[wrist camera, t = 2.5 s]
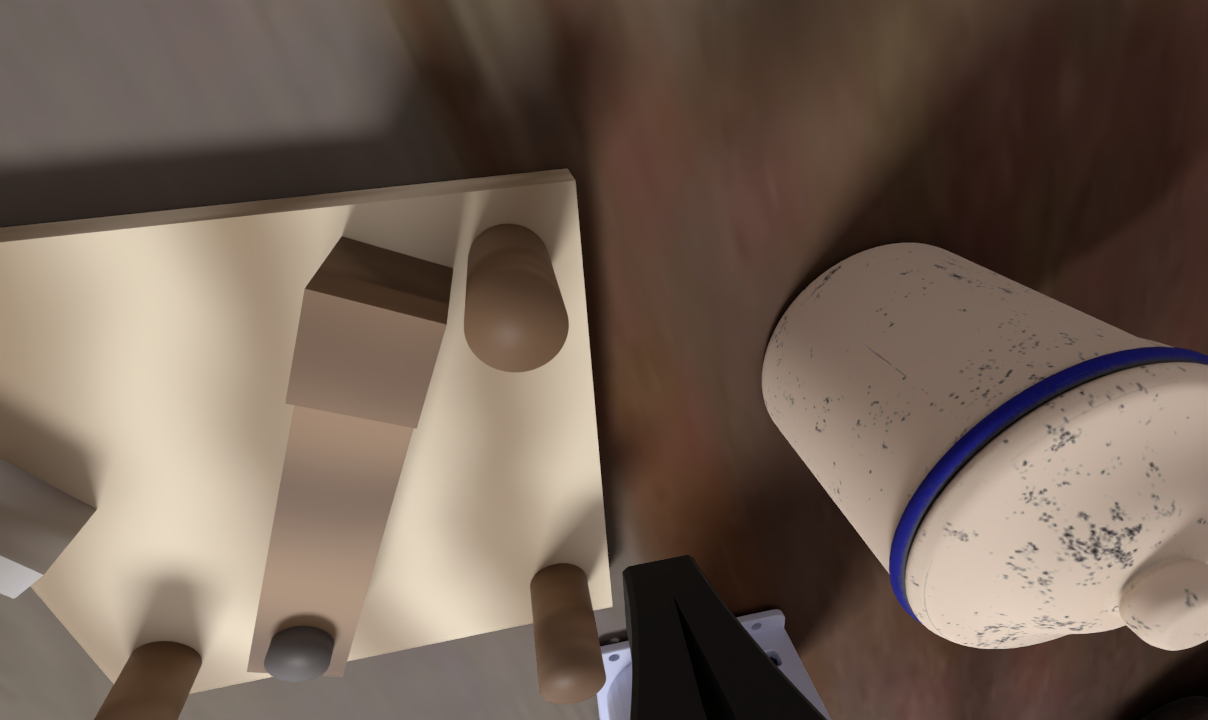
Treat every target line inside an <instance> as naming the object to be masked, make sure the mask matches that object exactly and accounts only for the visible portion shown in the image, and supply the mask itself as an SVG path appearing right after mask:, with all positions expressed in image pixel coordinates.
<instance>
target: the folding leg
mask: <svg viewBox="0 0 1208 720" xmlns="http://www.w3.org/2000/svg"><path fill="white" fill-rule="evenodd" d="M452 277H453V268H451V267H447V266H444V265H440V264H437V263H433V262H430V261H426V260H423V259H419V258H416V257H412V256H409V255H405V254H402V253H398V252H395V251H392V250H388V249H385V248H381V247H378V246H374V245H371V244H367V243H364V242H360V241H357V240H353V239H350V238H346V237H343V236H341V238H340V239H339V241H338V242H337V243H336V245H335V246H334V248H333V249H332V250H331V252H330V253H329V255H328V256H327V258H326V259H325V260H324V262H323V263H322V265H321V266H320V268H319V269H318V270H317V272H316V273H315V275H314V276H313V277H312V279H311V280H310V282H309V283H308V285H307V286H306V287H305V290H304V295H303V301H302V307H301V313H300V319H299V325H298V331H297V337H296V343H295V348H294V354H293V360H292V366H291V372H290V378H289V384H288V390H287V396H286V401H285V404H290V405H294V408H293V414H292V420H291V425H290V431H289V437H288V442H287V448H286V453H285V459H284V465H283V470H282V476H281V482H280V487H279V493H278V498H277V504H276V510H275V515H274V521H273V527H272V532H271V538H270V544H269V549H268V555H267V560H266V566H265V572H264V577H263V583H262V589H261V594H260V600H259V605H258V611H257V617H256V622H255V628H254V634H253V639H252V645H251V650H250V656H249V662H248V667H247V672H254V673H269V674H270V675H271V676H273V677H274V678H277V679H279V680H283V681H288V682H304V681H309V680H312V679H315V678H317V677H319V676H335V677H343V674H344V670H345V667H346V663H347V660H348V656H349V653H350V649H351V646H352V642H353V639H354V635H355V632H356V628H357V625H358V621H359V618H360V614H361V611H362V607H363V604H364V600H365V597H366V593H367V590H368V586H369V583H370V579H371V576H372V572H373V569H374V565H375V562H376V558H377V555H378V551H379V548H380V544H381V541H382V537H383V534H384V530H385V527H386V523H387V520H388V516H389V513H390V509H391V506H392V502H393V499H394V495H395V492H396V488H397V485H398V481H399V478H400V474H401V471H402V467H403V464H404V460H405V457H406V453H407V450H408V446H409V443H410V439H411V436H412V432H413V429H414V428H416V429H417V426H418V422H419V419H420V416H421V412H422V409H423V405H424V402H425V398H426V395H427V391H428V388H429V384H430V381H431V377H432V374H433V370H434V367H435V364H436V360H437V357H438V353H439V350H440V346H441V343H442V339H443V336H444V332H445V329H446V325H447V318H448V310H449V302H450V293H451V285H452Z"/></svg>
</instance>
